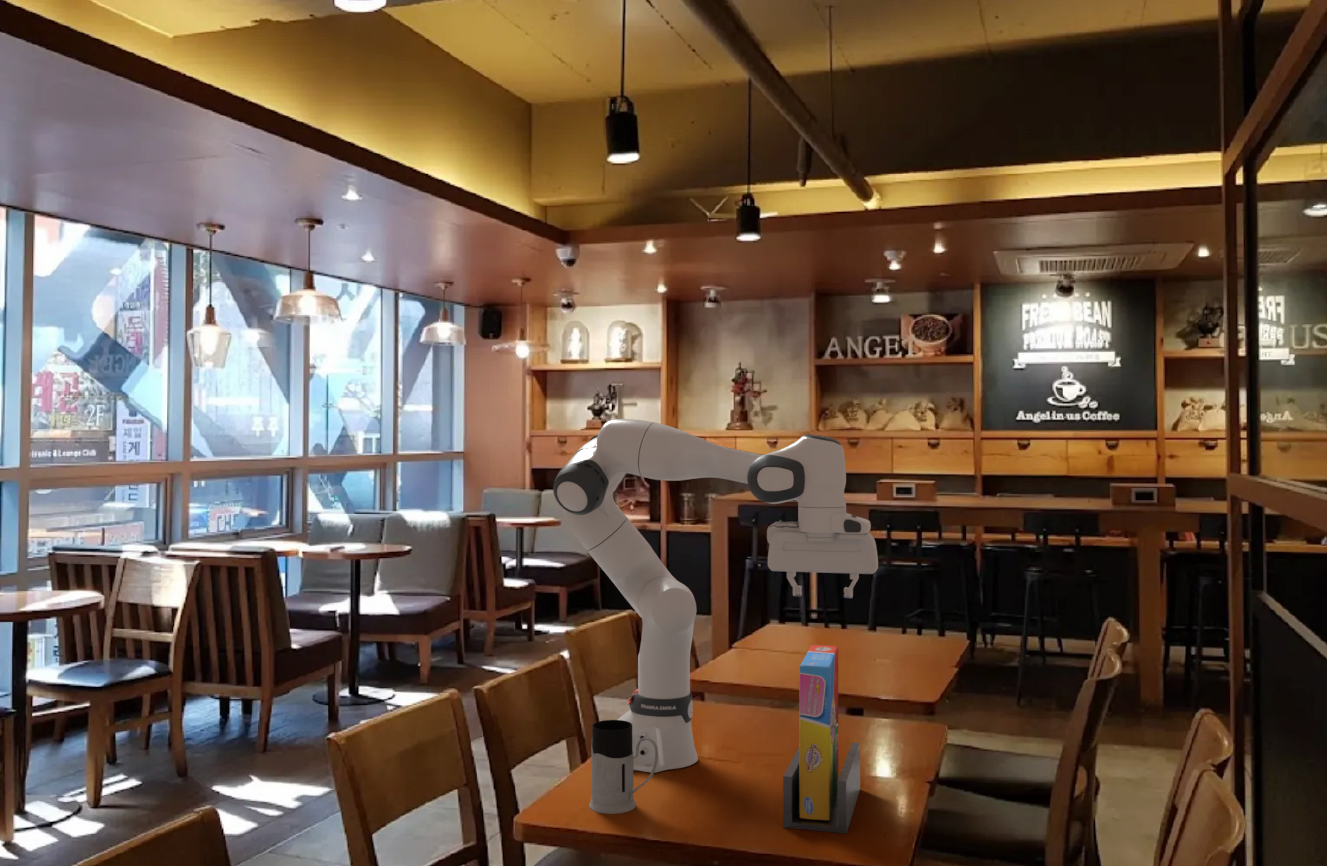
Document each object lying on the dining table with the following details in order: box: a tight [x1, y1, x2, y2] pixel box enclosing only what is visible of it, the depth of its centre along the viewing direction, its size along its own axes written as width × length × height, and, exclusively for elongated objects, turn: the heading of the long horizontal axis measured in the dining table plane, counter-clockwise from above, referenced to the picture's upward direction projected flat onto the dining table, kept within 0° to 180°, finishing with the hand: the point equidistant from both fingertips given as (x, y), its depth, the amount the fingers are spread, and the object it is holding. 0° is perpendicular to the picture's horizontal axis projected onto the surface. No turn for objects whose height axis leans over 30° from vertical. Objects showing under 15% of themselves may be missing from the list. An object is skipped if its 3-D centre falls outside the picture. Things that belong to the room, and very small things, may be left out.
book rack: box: [782, 742, 861, 834], centre depth 195 cm, size 11×24×9 cm, turn 164°
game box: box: [798, 644, 839, 821], centre depth 195 cm, size 21×6×27 cm, turn 166°
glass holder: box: [588, 719, 658, 815], centre depth 195 cm, size 9×14×15 cm, turn 59°
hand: (822, 596), depth 195 cm, fingers open, 8 cm apart
